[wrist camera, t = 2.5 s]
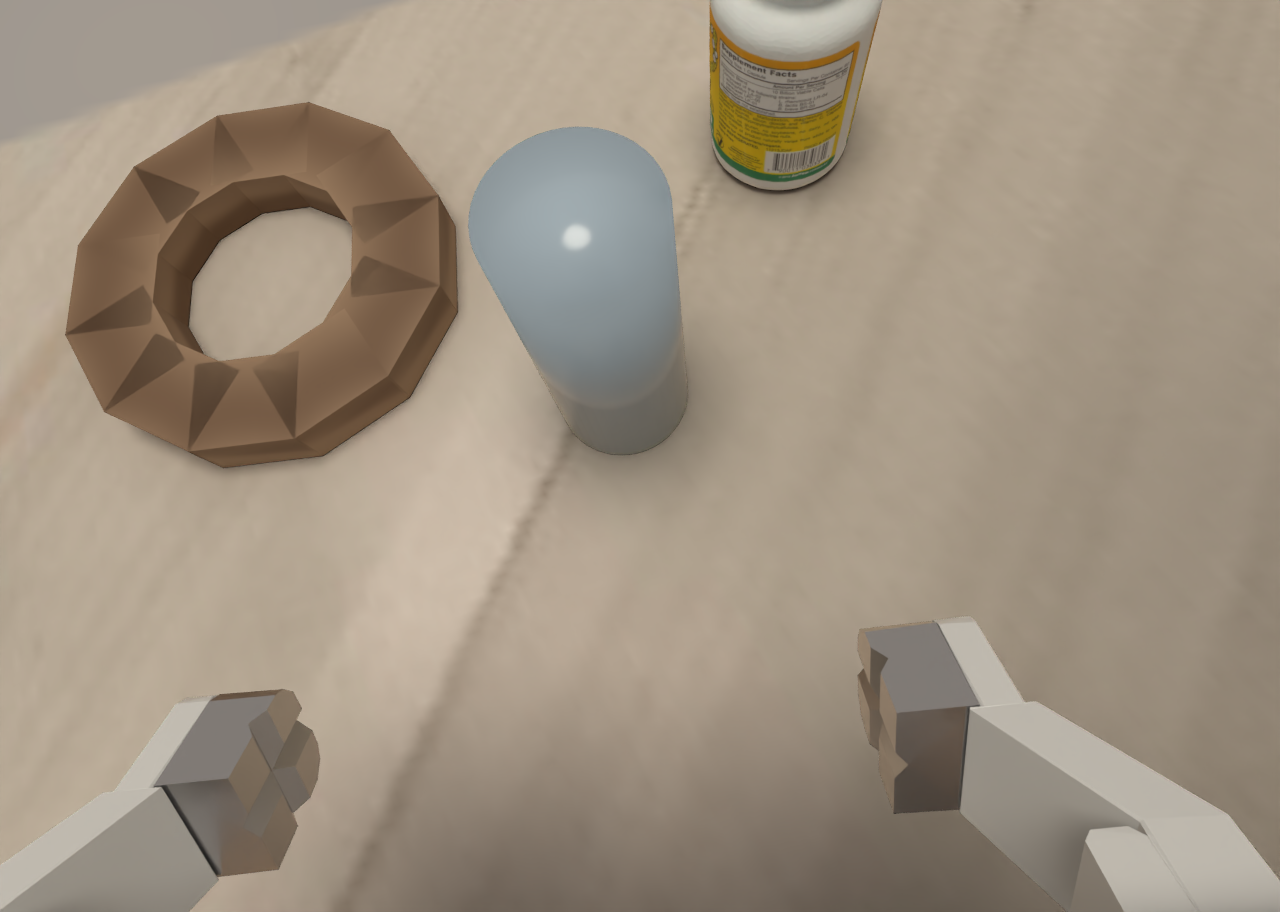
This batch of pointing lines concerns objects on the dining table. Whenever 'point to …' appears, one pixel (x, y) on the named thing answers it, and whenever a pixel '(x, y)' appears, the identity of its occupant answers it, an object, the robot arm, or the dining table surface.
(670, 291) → the slate ceramic shaker
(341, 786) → the dining table surface
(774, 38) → the supplement bottle
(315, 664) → the dining table surface
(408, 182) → the walnut ring
